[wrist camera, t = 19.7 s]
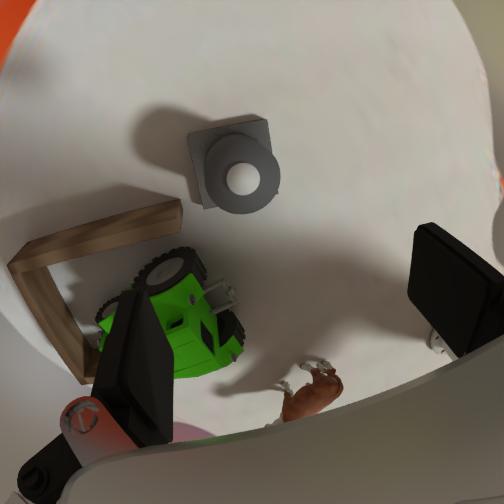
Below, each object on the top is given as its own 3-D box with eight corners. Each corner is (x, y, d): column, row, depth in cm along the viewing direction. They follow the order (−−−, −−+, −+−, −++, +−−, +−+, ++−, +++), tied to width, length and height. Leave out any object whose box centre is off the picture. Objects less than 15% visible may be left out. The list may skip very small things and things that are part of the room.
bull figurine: (253, 397, 44) (262, 442, 37) (321, 347, 41) (341, 392, 34) (272, 405, 46) (283, 447, 39) (338, 358, 43) (358, 400, 36)
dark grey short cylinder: (261, 128, 26) (275, 135, 21) (271, 187, 29) (286, 207, 24) (197, 140, 26) (197, 150, 21) (211, 200, 28) (213, 222, 24)
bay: (180, 199, 29) (176, 218, 24) (219, 335, 37) (223, 365, 33) (27, 242, 28) (6, 265, 23) (89, 356, 36) (81, 384, 32)
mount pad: (264, 118, 26) (267, 119, 26) (276, 190, 30) (278, 193, 29) (187, 134, 26) (186, 135, 25) (203, 205, 29) (203, 209, 29)
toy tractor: (84, 293, 32) (57, 355, 23) (207, 230, 31) (212, 287, 22) (138, 354, 37) (129, 418, 28) (252, 307, 36) (269, 373, 27)
